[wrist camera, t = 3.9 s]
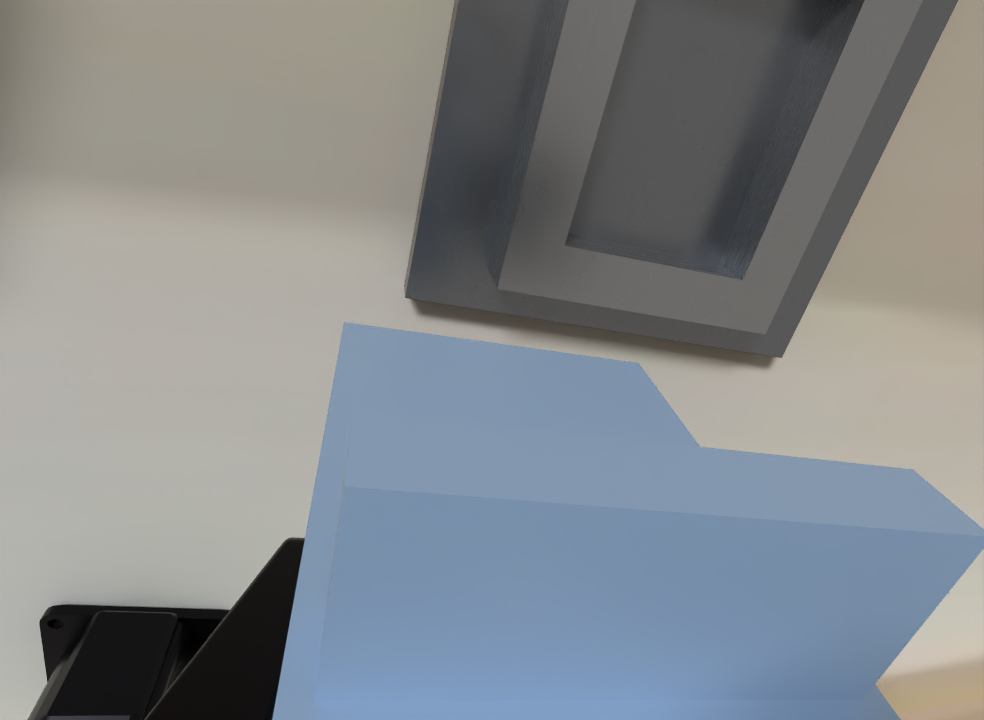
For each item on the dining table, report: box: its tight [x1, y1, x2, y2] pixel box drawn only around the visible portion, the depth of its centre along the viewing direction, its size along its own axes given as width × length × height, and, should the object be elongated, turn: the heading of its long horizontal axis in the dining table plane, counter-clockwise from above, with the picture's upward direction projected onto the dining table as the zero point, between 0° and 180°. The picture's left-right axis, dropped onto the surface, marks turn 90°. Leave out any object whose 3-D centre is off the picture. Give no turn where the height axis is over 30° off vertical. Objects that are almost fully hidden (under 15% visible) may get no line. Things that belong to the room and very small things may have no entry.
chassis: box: [404, 0, 958, 358], centre depth 16 cm, size 13×13×2 cm
